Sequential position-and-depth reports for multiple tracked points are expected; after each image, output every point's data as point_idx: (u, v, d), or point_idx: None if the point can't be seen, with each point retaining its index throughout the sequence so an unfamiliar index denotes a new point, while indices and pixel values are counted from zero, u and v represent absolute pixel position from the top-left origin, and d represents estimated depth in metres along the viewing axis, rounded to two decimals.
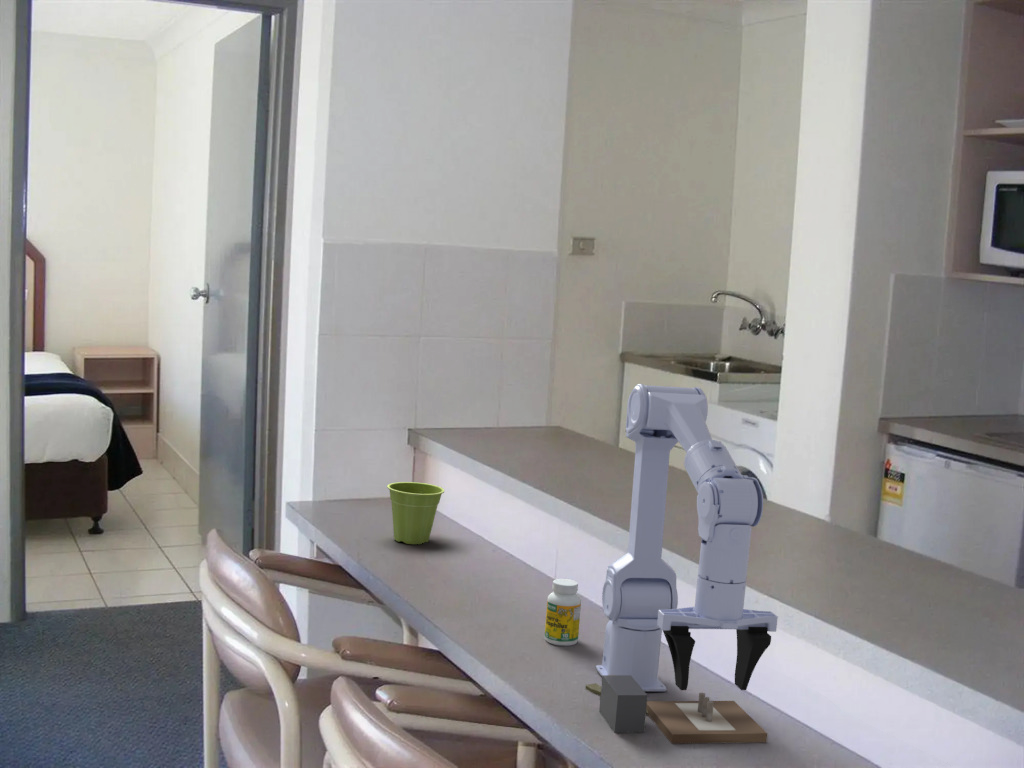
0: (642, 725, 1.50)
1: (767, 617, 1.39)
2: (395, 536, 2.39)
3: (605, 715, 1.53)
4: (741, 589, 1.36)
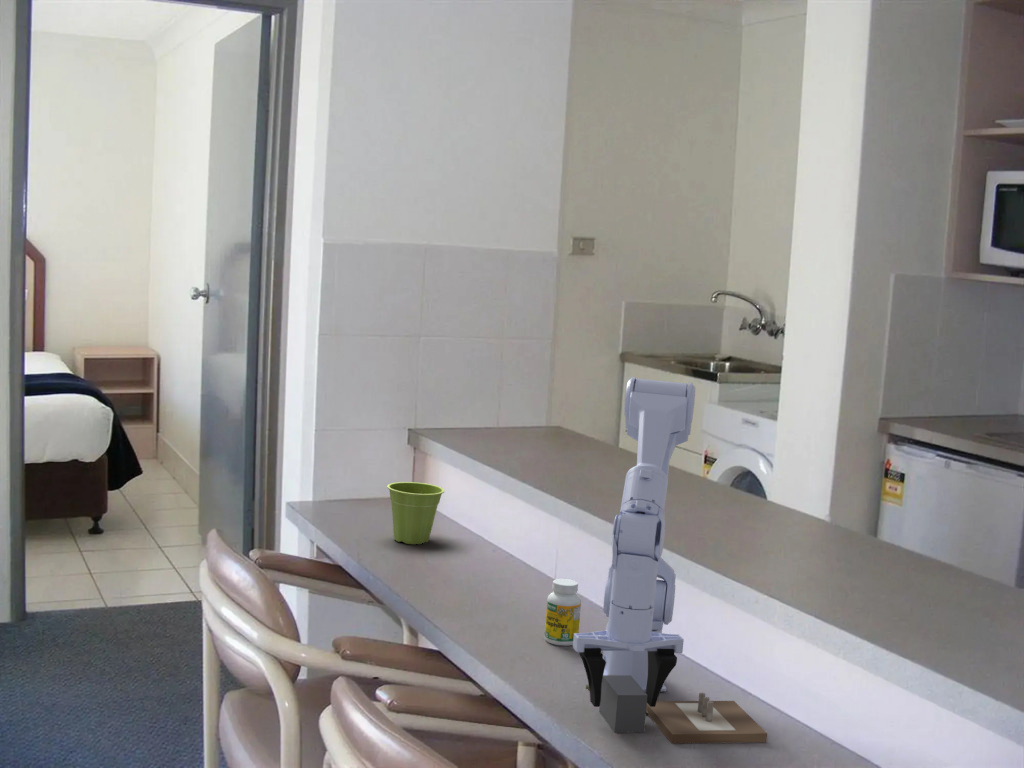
0: (642, 725, 1.50)
1: (674, 640, 1.52)
2: (395, 536, 2.39)
3: (605, 715, 1.53)
4: (648, 614, 1.49)
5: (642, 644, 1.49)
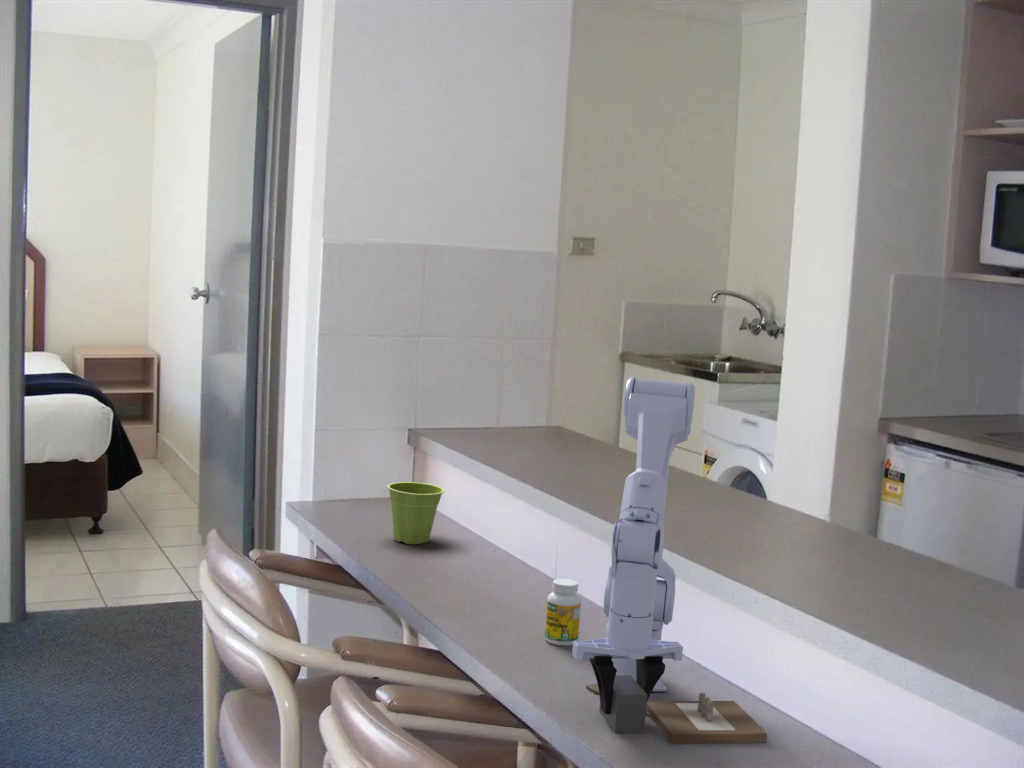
0: (642, 725, 1.50)
1: (673, 647, 1.52)
2: (395, 536, 2.39)
3: (605, 715, 1.53)
4: (648, 622, 1.49)
5: (641, 652, 1.49)
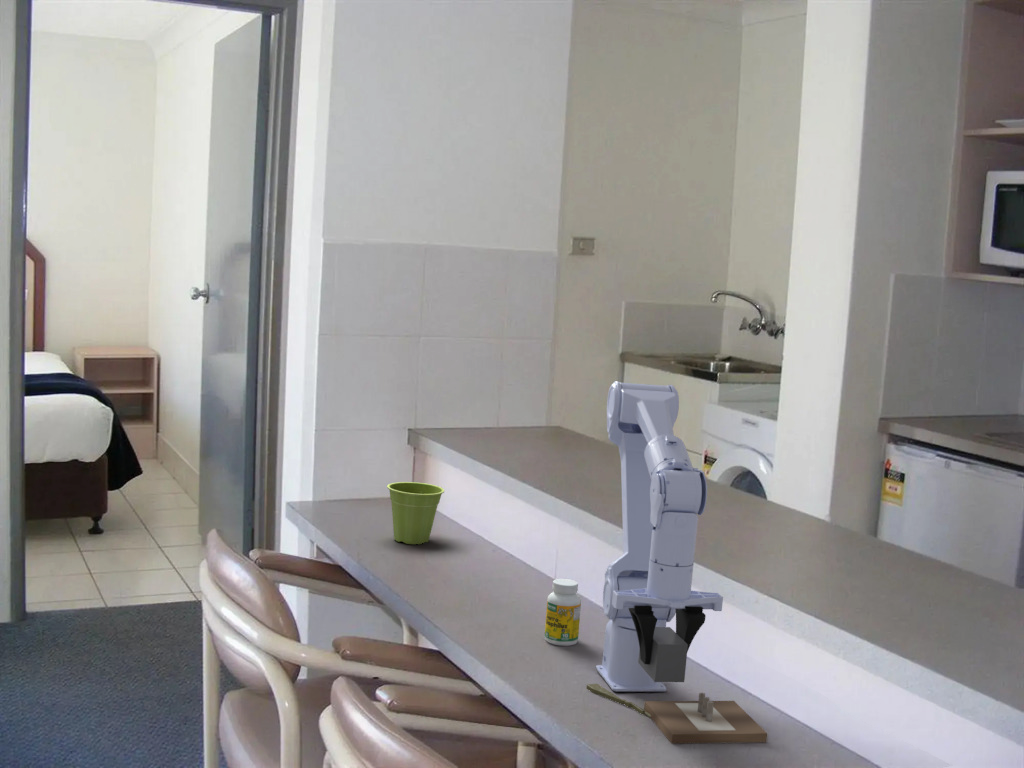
0: (682, 675, 1.49)
1: (713, 598, 1.52)
2: (395, 536, 2.39)
3: (644, 665, 1.53)
4: (688, 572, 1.49)
5: (682, 601, 1.48)
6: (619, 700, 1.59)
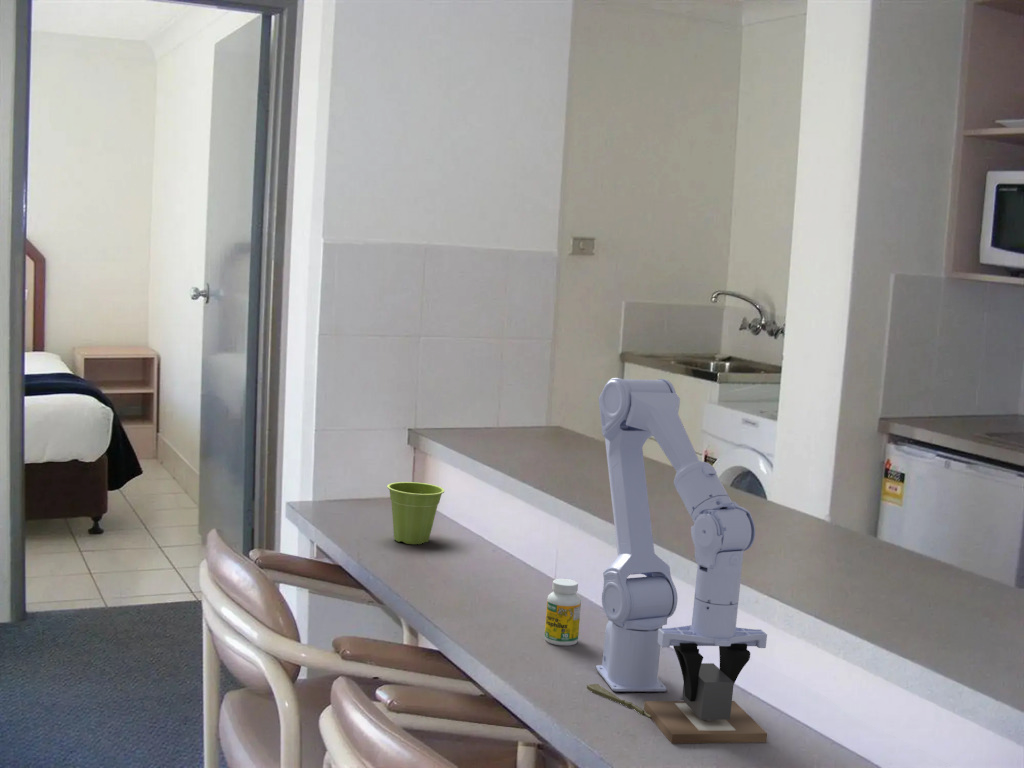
0: (728, 712, 1.50)
1: (757, 635, 1.53)
2: (395, 536, 2.39)
3: (689, 702, 1.54)
4: (734, 610, 1.50)
5: (728, 639, 1.50)
6: (619, 700, 1.59)
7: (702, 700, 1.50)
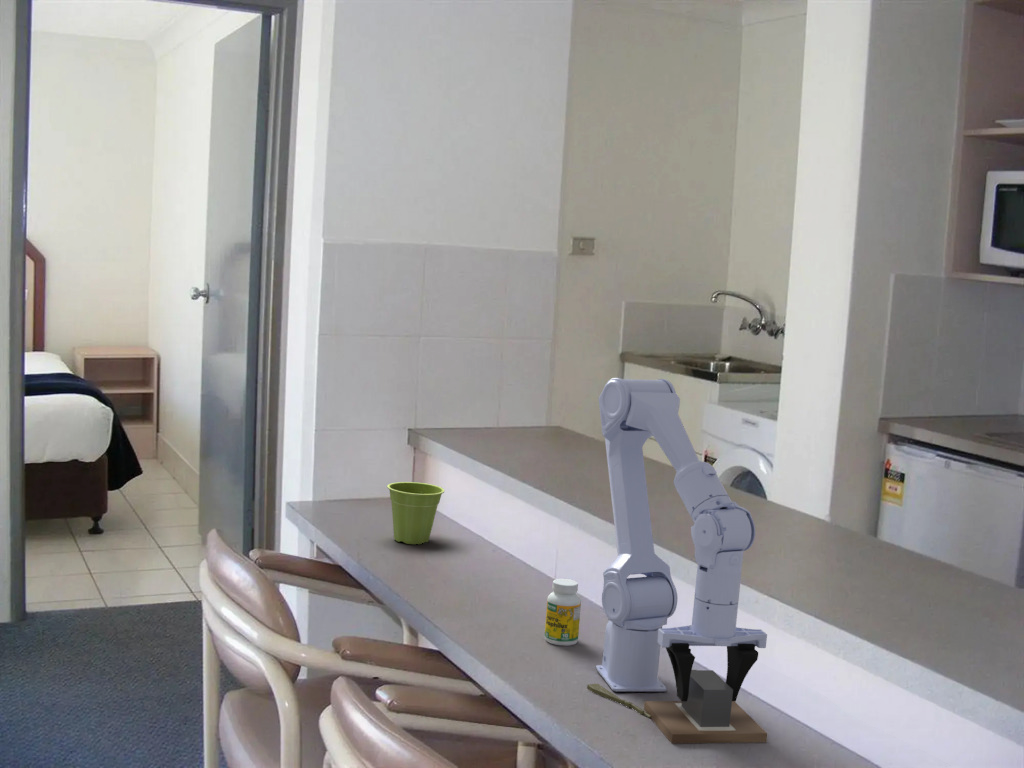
0: (727, 719, 1.51)
1: (757, 635, 1.53)
2: (395, 536, 2.39)
3: (688, 709, 1.54)
4: (734, 610, 1.50)
5: (728, 639, 1.50)
6: (619, 700, 1.59)
7: (701, 707, 1.50)
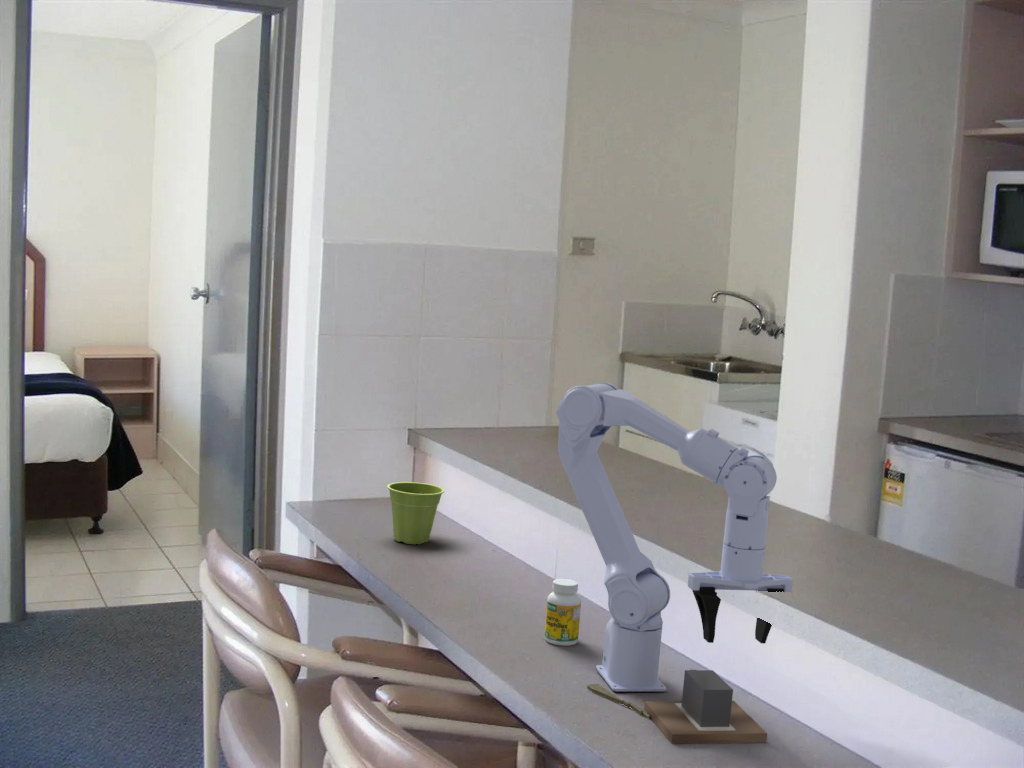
0: (727, 719, 1.51)
1: (783, 580, 1.60)
2: (395, 536, 2.39)
3: (688, 709, 1.54)
4: (761, 555, 1.57)
5: (755, 582, 1.57)
6: (618, 700, 1.59)
7: (701, 707, 1.50)
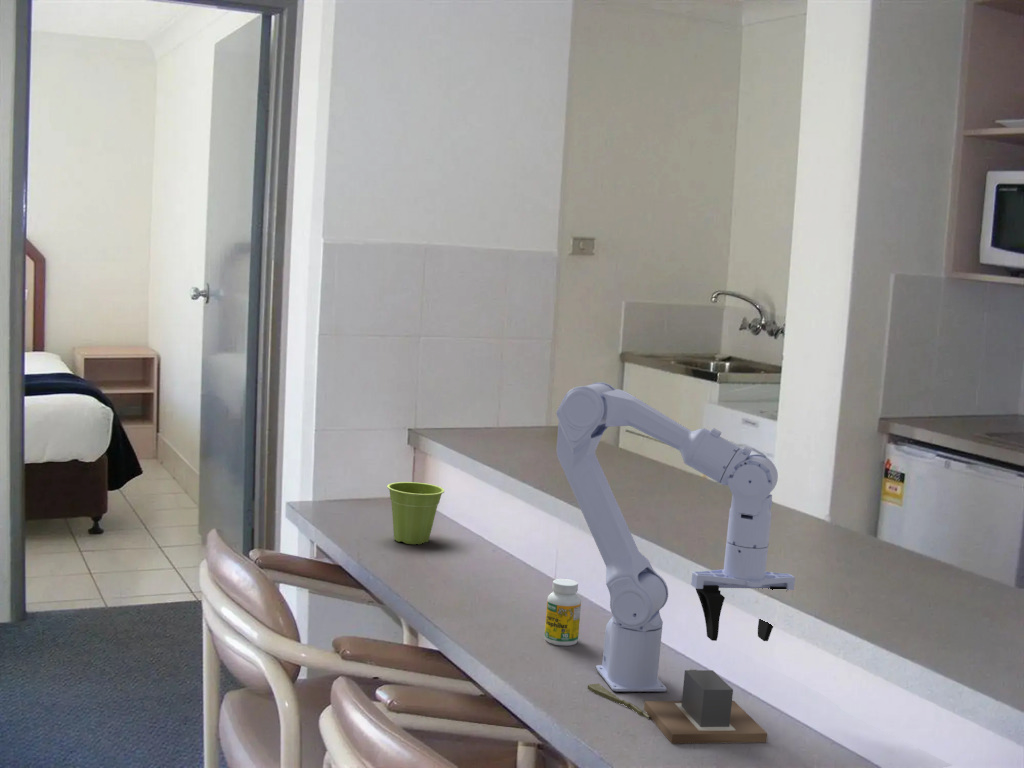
0: (727, 719, 1.51)
1: (786, 578, 1.61)
2: (395, 536, 2.39)
3: (688, 709, 1.54)
4: (764, 553, 1.58)
5: (758, 581, 1.58)
6: (618, 700, 1.59)
7: (701, 707, 1.50)
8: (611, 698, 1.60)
